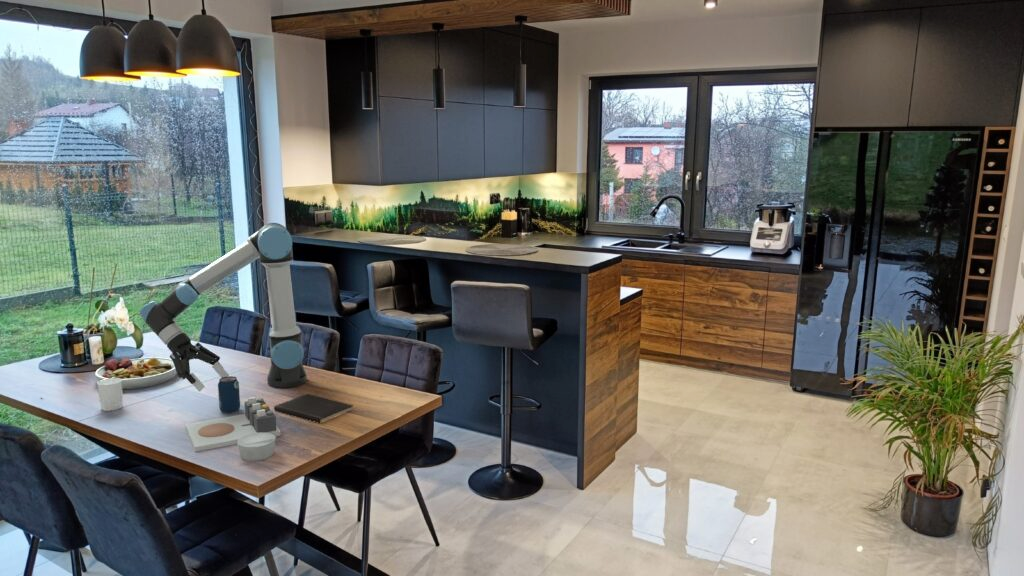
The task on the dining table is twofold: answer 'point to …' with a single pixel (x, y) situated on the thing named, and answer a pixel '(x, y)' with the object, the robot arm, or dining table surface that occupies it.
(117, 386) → the white cup
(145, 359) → the bowl
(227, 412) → the soda can
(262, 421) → the breaker board
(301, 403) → the hardcover book
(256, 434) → the ramekin
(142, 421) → the dining table surface
